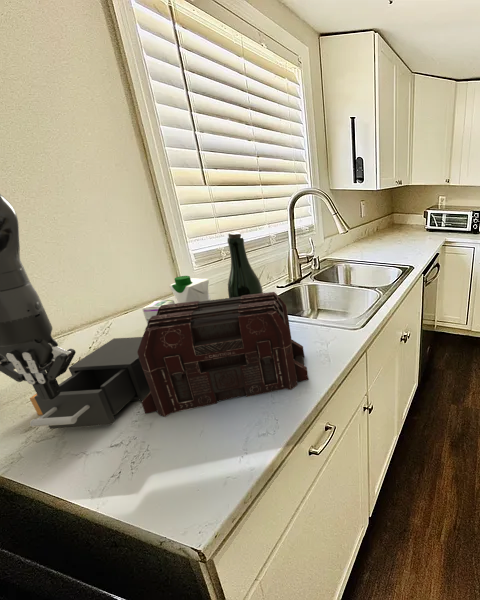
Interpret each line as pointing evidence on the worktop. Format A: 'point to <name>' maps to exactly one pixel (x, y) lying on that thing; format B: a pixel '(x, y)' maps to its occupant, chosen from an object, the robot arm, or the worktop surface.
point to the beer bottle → (241, 270)
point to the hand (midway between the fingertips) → (51, 397)
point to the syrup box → (154, 308)
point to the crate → (218, 352)
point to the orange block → (36, 405)
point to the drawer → (87, 399)
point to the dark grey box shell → (117, 362)
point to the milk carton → (190, 289)
